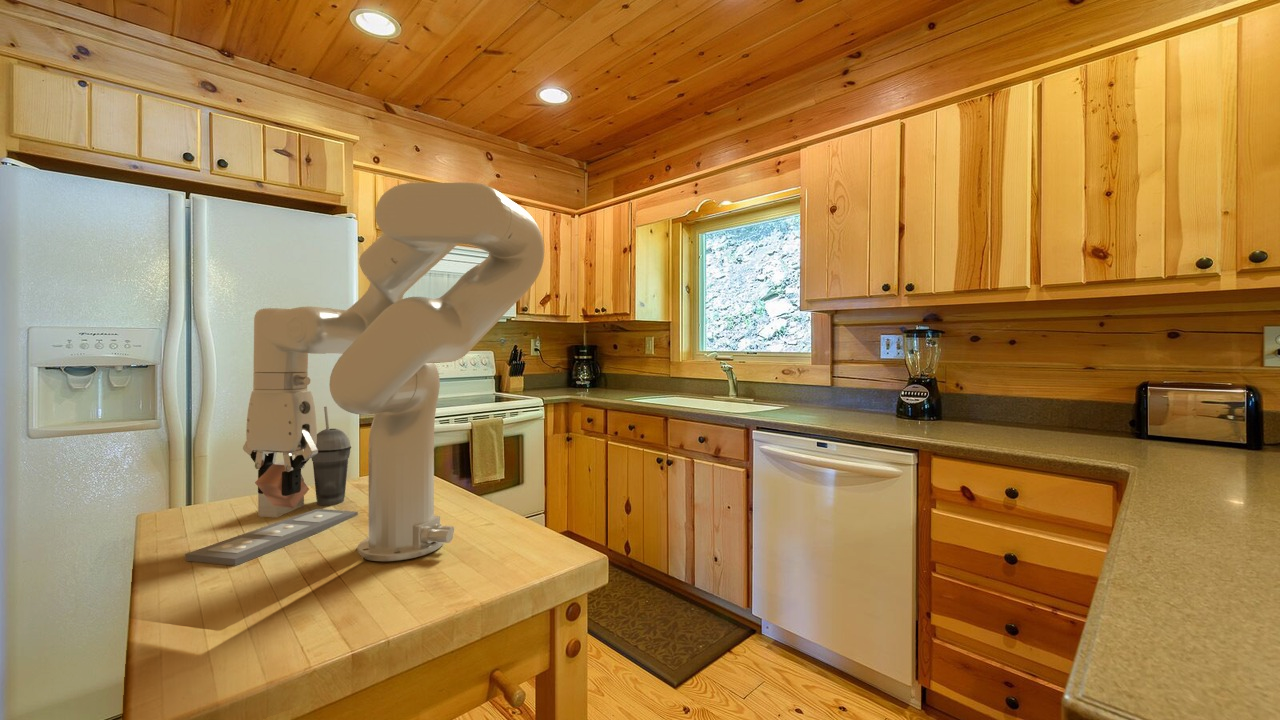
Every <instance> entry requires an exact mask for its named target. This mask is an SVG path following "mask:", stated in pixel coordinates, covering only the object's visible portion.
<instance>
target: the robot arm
mask: <svg viewBox="0 0 1280 720" xmlns="http://www.w3.org/2000/svg"><path fill="white" fill-rule="evenodd" d="M374 214H375V215H374V216H375V222H376V225H377V227H378V229H379V230H380V231H381V232H382V235H380V237H378V239H377V238H376V240H375V241H373V243H372V244H370V246H368V248H366V249H365V250H364V251H363V252H362V253H361V254H360V255H359V259H358V264H359V268H360V270H361V272H362V274H363V275H364V276H365V277H366V279H367V280H368V282H370V283H369V286H368V288H367V290H366V291H365V292H364V294H363V295H362V296H361V297H360V298H359V299H358V300H357V301H356V302H355V303H354V304H353V305H351V306H350V307H349V308H348V309H346V310H345V309H338V308H332V307H331V308H330V307H329V308H328V307H318V306H299V307H293V308H277V307H272V308H271V307H268V308H266V307H265V308H261V309H258V310H257V311H256V312H255V314H254V316H253V317H254V318H253V319H254V320H253V371H252V372H253V378H252V379H253V382H252V387H253V388H252V389H253V390H252V391H251V394H250V398H249V403H248V409H247V416H246V427H245V428H246V431H245V433H246V434H245V435H246V436H245V437H246V438H245V442H244V444H243V446H242V450H243V451H244V452H245V453H247V455H249V456H250V458H251V459H252V461H253V462H254V469H256V470H257V480H258V479H259V478H260V477H261V476H262V475H263V474H264V473H265V472H266V471H267V469H268V468H269V467H270V466H271V465H272V464H275V463H276V460H277V455H278V454H277V453H280V454H281V453H282V455H283V456H282V457H283V461H284V465H285V470H286V471H283V472H282V495H283V496H288V495H291V494H295V493H298V492H300V491H301V474H302V469H304V468H305V466H306V464H307V462H308V461H310V459H312V457H313V456H315V455H316V454H317V453H318V449H317V447H316V443H317V434H318V432H317V416H316V415H317V414H316V407H315V402H314V397H313V394H312V393H313V392H312V391H311V390H308V386H309V385H310V383H311V378H310V377H309V376H308V375H309V373H308V371H309V370H308V369H309V368H308V367H309V366H308V365H309V354H319V355H322V354H323V355H324V354H341V356H340V357H338V359H337V361H336V362H335V364H334V365H333V368H332V370H331V373H330V376H329V391H330V395H331V397H332V398H331V399H333V401H334V403H335V404H336V405H337V406H338V407H339V408H340V409H342V410H343V411H346V412H347V413H350V414H354V415H360V416H361V415H363V416H366V415H374V416H373V419H372V422H371V426H370V431H369V434H368V537H366V538H365V539H363V540H362V541H360V542H359V543H358V545H357V553H358V555H359V556H360V557H362V559H365V560H367V561H373V562H395V561H396V562H397V561H404V560H410V559H415V558H419V557H423V556H425V555H426V556H427V555H428V554H431V553H433V552H435V551H437V550H438V549H440V548H441V547H442V546H443V545H444V543H445V544H449V543H451V542H452V541H453V537H454V532H455V527H454V526H453V525H451V526H450V525H442V524H441V516H440V515H435V504H434V503H435V483H434V482H435V479H434V478H435V466H434V465H435V460H434V458H435V455H434V454H435V453H434V452H435V451H434V450H435V420H436V412H437V405H438V399H439V394H440V383H441V382H440V381H441V379H440V374H439V370H438V368H437V366H436V364H441V363H443V364H444V363H452V362H456V361H458V360H460V359H462V358H464V357H465V356H466V355H467V354H469V352H470V351H472V349H473V348H474V347H475V346H476V345H477V344H478V343H479V342H480V341H481V339H483V338H484V337H485V335H487V334H488V333H489V331H491V329H492V328H493V327H494V326H495V325H496V324H497V323H498V322H499V321H500V320H501V319H502V318H503V316H505V314H506V313H507V312H508V311H509V310H510V309H512V307H513V306H514V305H515V304H516V303H517V302H519V301H520V299H522V298H523V296H524V295H525V294H526V293H528V291H529V290H530V289H531V288H532V286H533V285H534V284H535V282H536V281H537V279H538V277H539V275H540V273H541V271H542V268H543V264H544V260H545V244H544V239H543V238H544V237H543V235H542V233H541V232H542V231H541V230H540V227H539V225H538V224H537V222H536V221H535V219H534V218H533V217H532V216H531V214H530V213H529V212H528V211H526V210H525V208H523V207H522V206H520V205H519V204H518V203H516V202H514V201H513V200H511V199H510V198H509V197H507V196H505V195H504V194H503V193H501V192H500V191H498V190H496V189H495V188H494V187H492V186H489V185H486V184H482V183H479V182H478V183H475V182H406V183H400V184H398V185H395V186H393V187H391V188H389V189H388V190H387V191H385V192H384V193H383V194H382V195H381V197H380V198H379V200H378V201H377V203H376V206H375V212H374ZM458 244H459V245H469V246H473V247H474V248H477V249H480V250H482V251H485V252H486V253H488V255H487V257H486V258H485V259H484V260H482V261H481V262H479V263H477V264H476V265H475V266H473V267H472V268H470V269H469V270H467V271H466V272H465V273H464V274H462V276H461V277H460V278H459V279H458V280H457V281H456V282H455V283H454V285H453V286H451V288H450V289H449V290H447V291H446V292H445V293H444V294H442V295H441V296H440V297H437V298H432V297H431V298H430V297H425V296H408V297H404V295H405V294H406V293H407V291H409V290H410V289H411V288H412V287H413V286H414V285H415V284H416V283H417V282H419V280H421V279H422V278H423V277H424V276H425V275H426V274H427V273H428V272H429V271H430V270H431V269H433V268H434V267H435V266H436V265H437V264H438V263H439V262H441V261H442V260H443V258H445V257H446V256H447V255H448V254H449V253H451V252H452V251H453V249H455V248H456V247H457V246H458ZM293 456H294V458H293ZM293 459H294V460H293ZM258 493H259V494H263V492H262V491H261V490H260V489H259V487H258V486H257V494H258Z"/></svg>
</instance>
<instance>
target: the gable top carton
mask: <svg viewBox="0 0 1280 720" xmlns="http://www.w3.org/2000/svg"><path fill="white" fill-rule="evenodd" d="M294 459H295V458H293V460H294ZM275 464H277V465H284V460H282V461H280V462H275ZM301 478H302V480H303V481H304V482H305V479H304V477H303V474H302V473H301ZM257 495H258V496H257V497H258V498H257V501H258V503H257V504H258V508H257V509H258V511H257V514H258V515H257V516H258V517H262V518H279V517H281V516H283V515H286V514H288V513H290V512H292V511H294V510H298V509H299V508H301V507H304V506H305V495H304V496H303V498H302V499H301V500H300V501H299V502H298V503H297V505H296V506H295V507H294V508H287V507H277V506H273V505H272V503H271V502H270V501H269V500H268V498H267V497H266V496H265V495H264V493H263V494H259V493H258V492H257Z"/></svg>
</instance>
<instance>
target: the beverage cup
mask: <svg viewBox="0 0 1280 720" xmlns="http://www.w3.org/2000/svg"><path fill="white" fill-rule="evenodd" d="M323 408H324V409H323V411H324V420H325V428H324V429H322V430H320V431H319V432H317V443H316V447H317V449H318V453H317V454H316V455H315V456H313V457H312V458H311V462H312V467H313V478H314V479H313V480H314V487H315V498H316V503H317V505H318V506H320V507H330V506H337V505H339V504H342V503H344V501H345V497H346V488H347V478H348V477H347V476H348V467H349V466H348V464H349V459H350V455H351V454H350V453H351V449H352V446H351V442H350V441H351V440H350V438H349V437H348V435H347V434H346V433H345V432H344V431H343V430H341V429H338V428H330V423H329V414H328V413H329V412H328V406H327V405H326V406H323Z"/></svg>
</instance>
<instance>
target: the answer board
mask: <svg viewBox="0 0 1280 720" xmlns="http://www.w3.org/2000/svg"><path fill="white" fill-rule="evenodd" d="M358 515H359V512H358V511H354V510H353V511H351V510H341V509H340V510H339V509H325V508H316V509H312V510H310V511H306V512H304V513H301V514H298V515H295V516H292V517H289V518H286V519H283V520H280V521H277V522H274V523H270V524H268V525H266V526H265V525H264V526H263V527H260V528H257V529H254V530H251V531H248V532H246V533H242V534H239V535H237V536H234V537H231V538H228V539H225V540H222V541H219V542H216V543H213V544H210V545H207V546H205V547H201V548H198V549H196V550H193V551H190V552H187V553H185V559H184V560H185V561H186V562H195V563H203V564H205V563H206V564H213V565H223V566H231V567H233V566H234V567H236V566H239V565H241V564H244V563H246V562H248V561H251V560H254V559H256V558H258V557H261V556H264V555H266V554H268V553H271V552H274V551H276V550H279V549H281V548H283V547H286V546H289V545H291V544H294V543H296V542H299V541H302V540H304V539H306V538H309V537H311V536H313V535H316V534H318V533H321V532H324V531H326V530H328V529H330V528H333V527H335V526H337V525H340V524H341V523H344V522H346V521H348V520H351V519H353V518H355V517H357V516H358Z"/></svg>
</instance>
